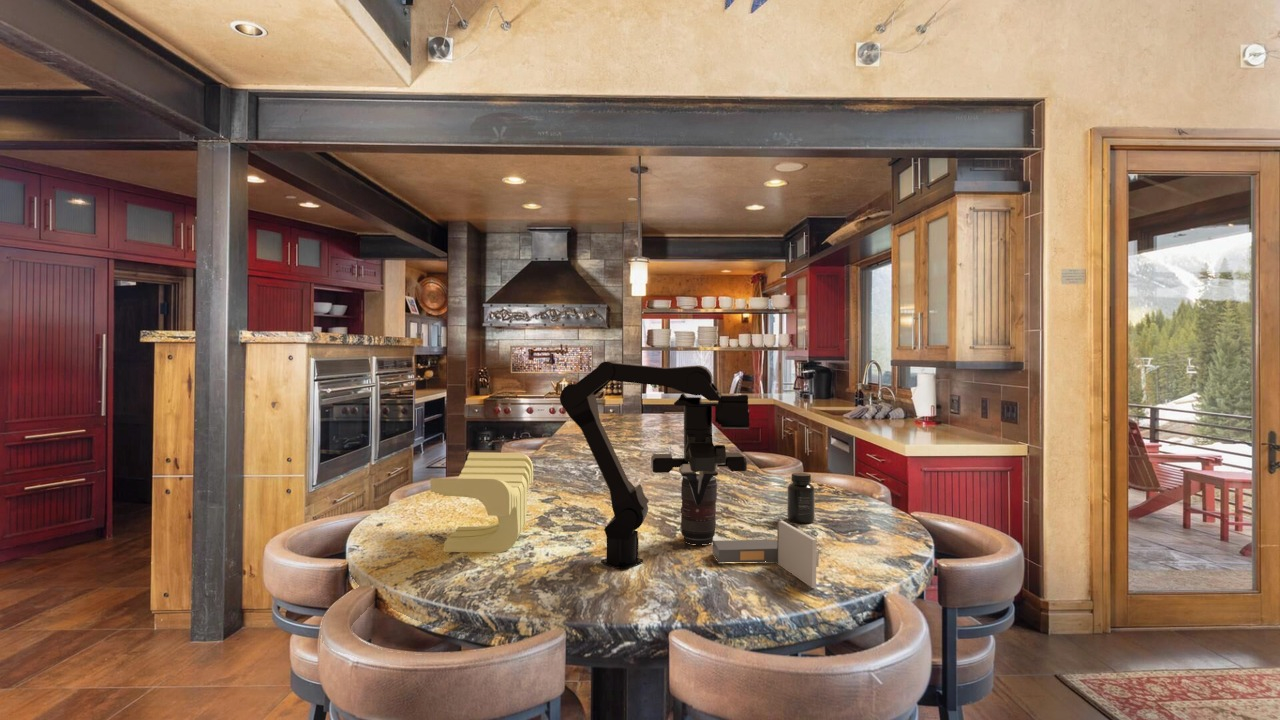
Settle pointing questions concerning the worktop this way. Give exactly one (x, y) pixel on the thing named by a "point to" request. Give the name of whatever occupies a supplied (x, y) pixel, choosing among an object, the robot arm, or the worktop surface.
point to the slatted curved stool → (490, 499)
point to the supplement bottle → (801, 499)
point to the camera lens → (698, 513)
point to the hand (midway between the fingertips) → (698, 504)
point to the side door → (797, 553)
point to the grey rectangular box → (745, 550)
